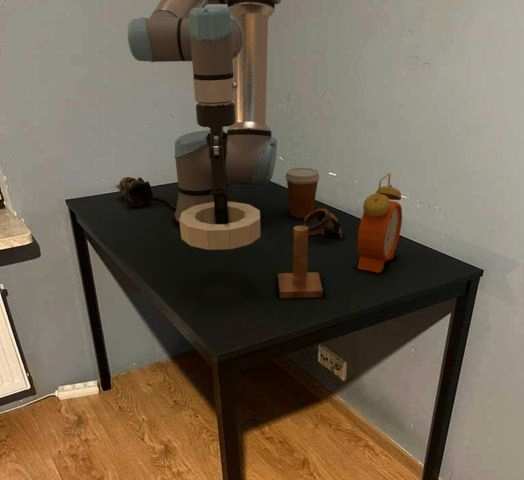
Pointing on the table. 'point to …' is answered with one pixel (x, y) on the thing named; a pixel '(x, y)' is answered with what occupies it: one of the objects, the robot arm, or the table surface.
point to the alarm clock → (379, 228)
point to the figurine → (135, 191)
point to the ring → (220, 226)
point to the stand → (300, 271)
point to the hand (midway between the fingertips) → (222, 220)
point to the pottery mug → (322, 222)
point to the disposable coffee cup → (302, 190)
